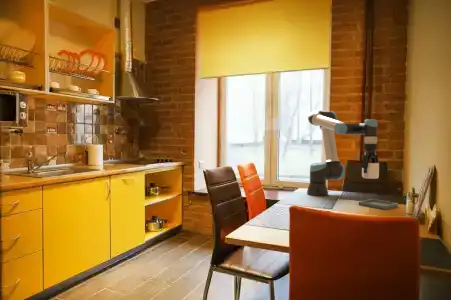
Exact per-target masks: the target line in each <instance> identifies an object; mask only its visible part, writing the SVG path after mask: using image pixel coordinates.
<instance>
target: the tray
mask: <svg viewBox="0 0 451 300" xmlns="http://www.w3.org/2000/svg"><path fill="white" fill-rule="evenodd" d="M358 206H362V207H366V208H372V209H378V210H383V211H386V210H390V209H394V208H397V207H399V203H398V202H393V201H388V200H387V201H386V200H381V199H375V198H369V199H366V200H365V199H364V200H360V201H358Z"/></svg>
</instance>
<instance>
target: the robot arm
mask: <svg viewBox="0 0 451 300" xmlns="http://www.w3.org/2000/svg"><path fill="white" fill-rule="evenodd" d="M307 120H308V123H309V124H311V125H312V126H316V127H317V126H318V127H319V129H320V130H321V132H322V139H323V147H324V153H325V162H314V163H311V164H310V167H309V185H308V187H307V191H306V194H307V195H310V196H315V197H324V196H326V197H327V196H329V191H328V188H327V187H328V186H327V181H330V180H331V181H333V180H334V181H337V180H341V179H343V178H344V176H345V175H346V174H345V173H346V169H345V166H344V164H342V163H341V160H340V159H339V157H338V150H337V143H336V136H335V134H336V135H355V136H361V135H363V136H364V150H365V151H363V153H362V155H363V157H362V161H361V169H362V168H364V178H363V179H366V178H367V179H368V163H369V162H371V163H379V157H378V156H379V155H378V153H379V152H378V151H376V150H377V149H378V144H377V143H378V120H377V119H373V118H370V119H369V118H367V119H365V120H364V123H363V122H362V123H361V122H360V123H357V122H356V123H355V122H354V123H352V122H343V121H341V120H338V115H337V113H336V112H335V111H333V110H318V109H316V110H313V111H311V112H310V113H309V114H308V116H307ZM379 164H380V163H379ZM368 180H369V179H368Z"/></svg>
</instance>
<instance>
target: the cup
mask: <svg viewBox="0 0 451 300" xmlns="http://www.w3.org/2000/svg"><path fill="white" fill-rule="evenodd" d="M379 175H380V163H372V161H370V162H369V163H368V180H369V179H370V180H371V179H372V180H375V179H377V180H378V179H379ZM361 177H362V178H363V179H367V178H364V168H362V167H361Z"/></svg>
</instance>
